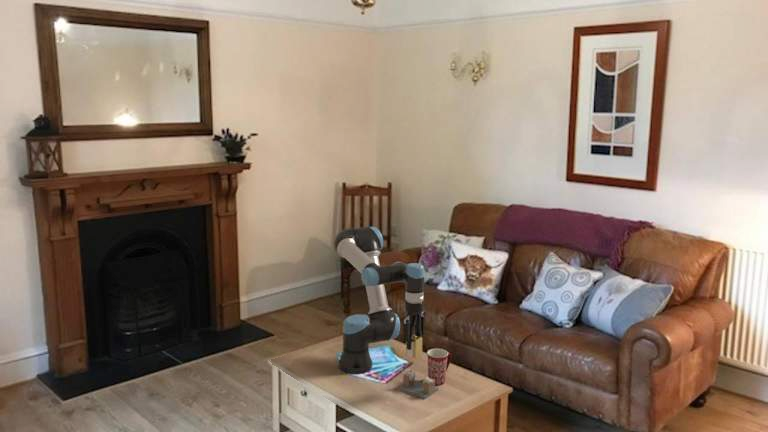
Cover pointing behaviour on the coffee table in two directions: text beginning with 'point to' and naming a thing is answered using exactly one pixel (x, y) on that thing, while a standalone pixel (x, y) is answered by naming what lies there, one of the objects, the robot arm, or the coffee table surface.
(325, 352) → the coffee table surface
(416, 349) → the coupler
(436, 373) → the mug
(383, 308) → the robot arm
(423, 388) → the shaft bench
